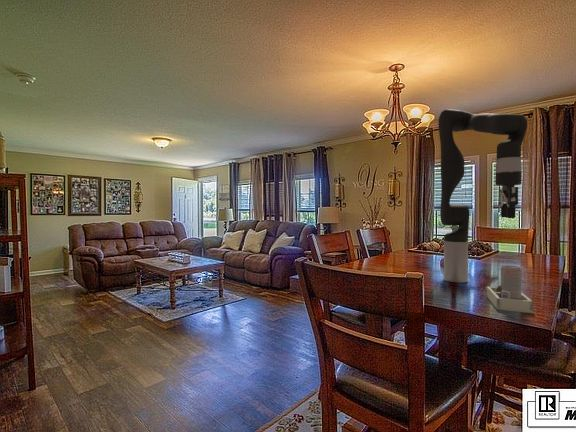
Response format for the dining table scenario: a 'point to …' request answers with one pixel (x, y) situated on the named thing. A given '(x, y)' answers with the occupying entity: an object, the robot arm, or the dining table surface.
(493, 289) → the caddy
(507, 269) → the energy drink
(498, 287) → the walnut ball
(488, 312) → the dining table surface
